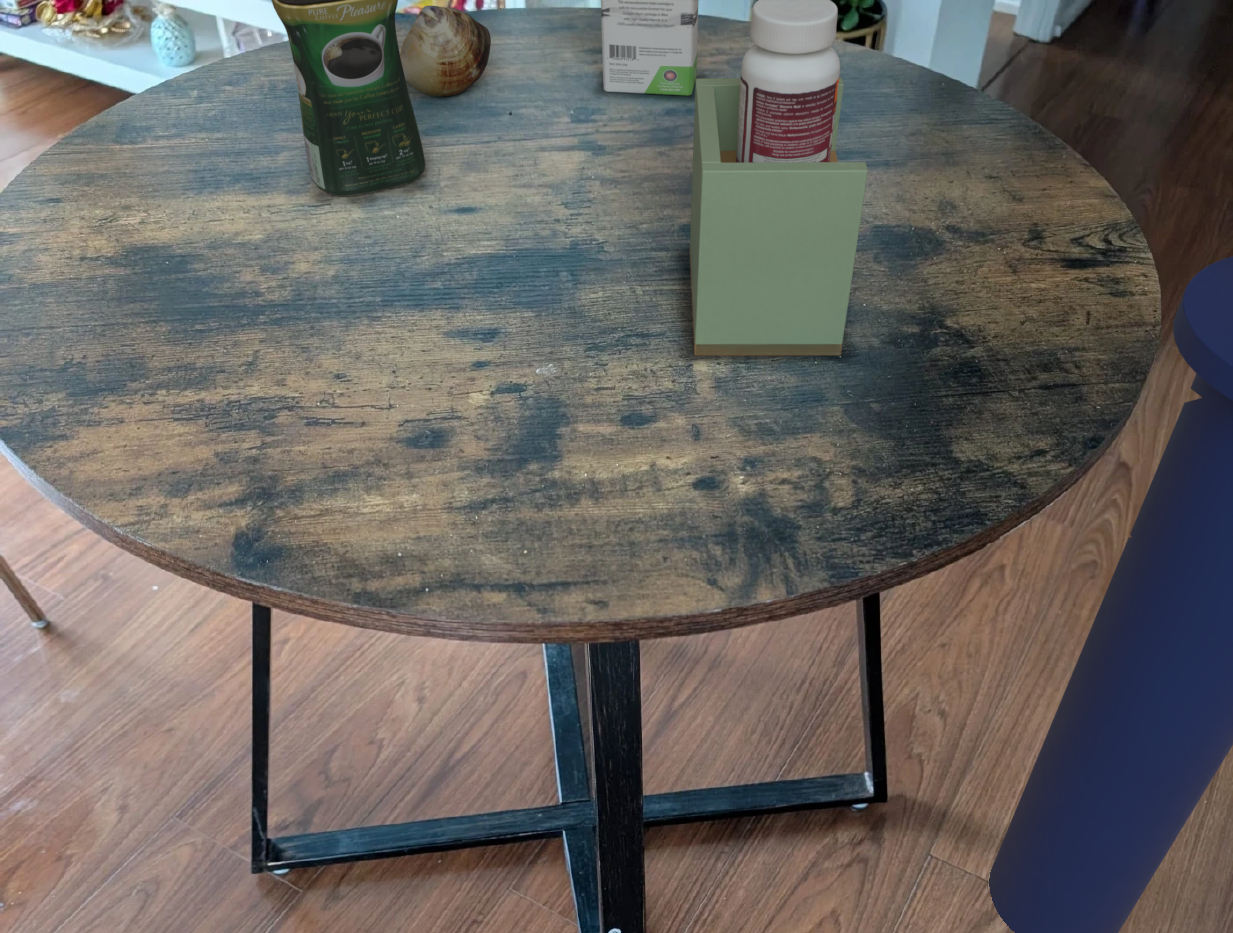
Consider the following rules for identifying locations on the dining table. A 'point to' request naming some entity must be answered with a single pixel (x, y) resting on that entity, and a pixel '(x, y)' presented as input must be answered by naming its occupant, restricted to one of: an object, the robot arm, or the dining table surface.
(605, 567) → the dining table surface
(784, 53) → the pill bottle
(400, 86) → the coffee jar
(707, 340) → the green pencil holder
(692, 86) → the ink box
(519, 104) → the dining table surface
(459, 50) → the seashell
